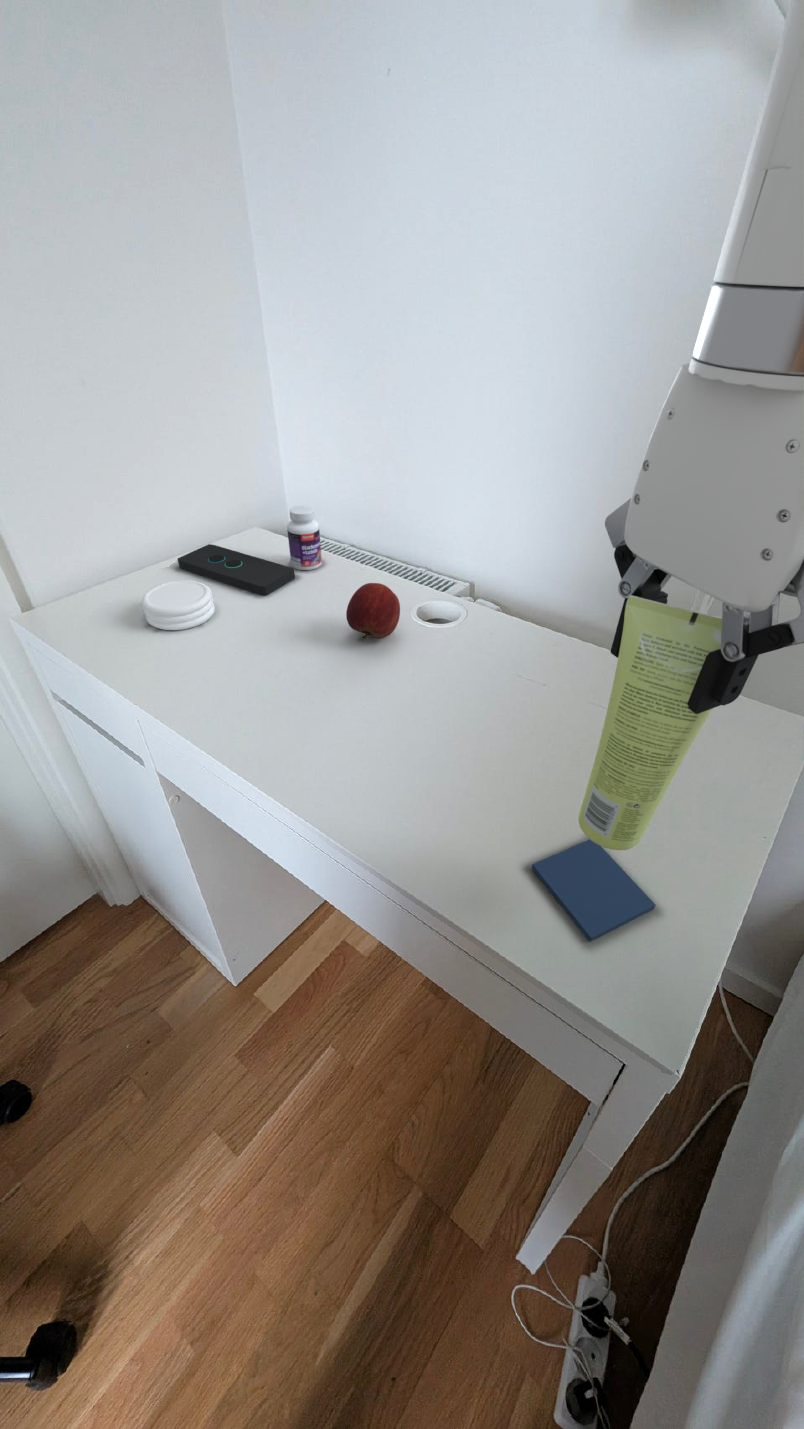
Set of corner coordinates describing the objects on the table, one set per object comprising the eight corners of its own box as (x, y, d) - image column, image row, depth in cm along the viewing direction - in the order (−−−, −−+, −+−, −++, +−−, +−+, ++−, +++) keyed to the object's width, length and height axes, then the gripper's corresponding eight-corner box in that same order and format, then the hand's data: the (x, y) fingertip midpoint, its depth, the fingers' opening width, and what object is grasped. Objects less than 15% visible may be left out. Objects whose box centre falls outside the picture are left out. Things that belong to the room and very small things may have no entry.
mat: (654, 908, 49) (656, 905, 49) (589, 942, 47) (591, 938, 47) (591, 841, 55) (593, 837, 55) (531, 868, 52) (532, 864, 52)
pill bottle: (306, 574, 99) (300, 517, 93) (285, 565, 102) (278, 510, 96) (328, 563, 102) (324, 508, 96) (307, 555, 105) (302, 501, 99)
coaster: (225, 602, 91) (221, 581, 89) (199, 634, 83) (193, 613, 81) (165, 597, 92) (160, 576, 90) (134, 628, 85) (127, 607, 82)
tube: (627, 797, 48) (709, 585, 36) (662, 845, 45) (767, 626, 32) (565, 809, 47) (628, 594, 35) (596, 859, 44) (678, 638, 31)
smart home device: (210, 542, 105) (296, 567, 97) (212, 551, 106) (297, 577, 98) (174, 558, 99) (262, 586, 91) (176, 568, 100) (264, 596, 92)
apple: (411, 638, 83) (412, 587, 78) (366, 655, 79) (364, 603, 74) (381, 617, 88) (380, 568, 83) (337, 633, 84) (334, 582, 79)
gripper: (1079, 362, 21) (835, 741, 32) (695, 318, 33) (617, 605, 44) (961, 376, 18) (741, 784, 29) (591, 323, 30) (537, 627, 41)
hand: (668, 674), depth 36 cm, fingers closed on tube, 5 cm apart
